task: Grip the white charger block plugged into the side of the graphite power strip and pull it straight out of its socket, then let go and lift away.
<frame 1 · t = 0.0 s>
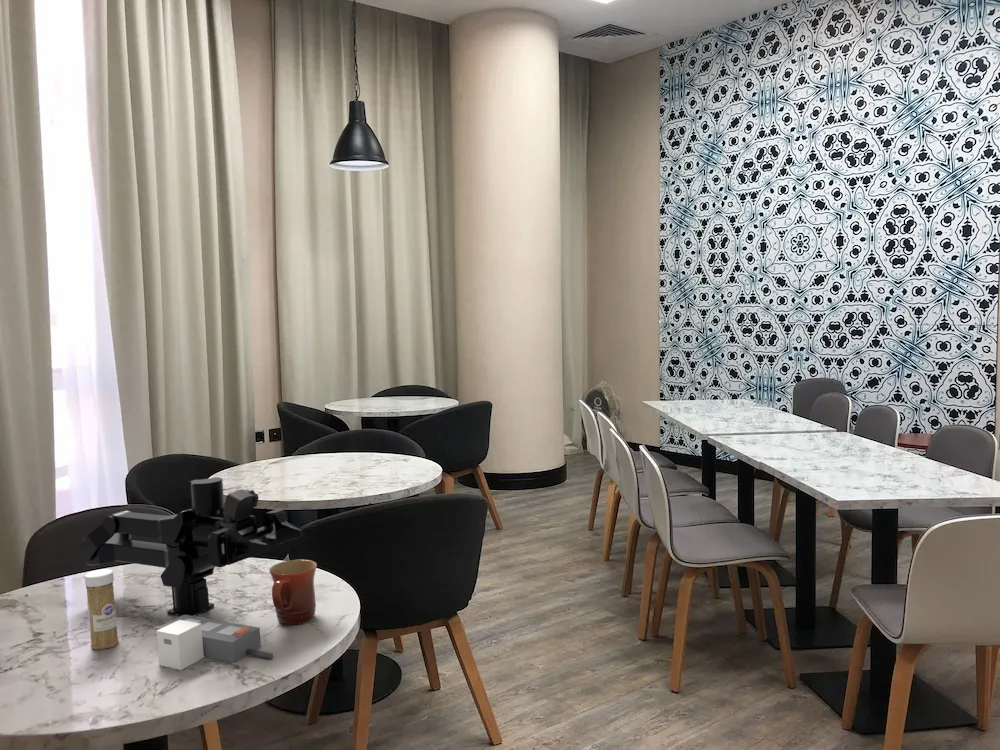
hand: (285, 540, 146), 17 cm above the table, tool horizontal, fingers open, 9 cm apart
sprinkles bottle: (105, 646, 143), on the table
charger: (185, 641, 136), point 3 cm above the table, slide at 0.0 cm
power strip: (208, 646, 140), on the table
mug: (292, 623, 150), on the table
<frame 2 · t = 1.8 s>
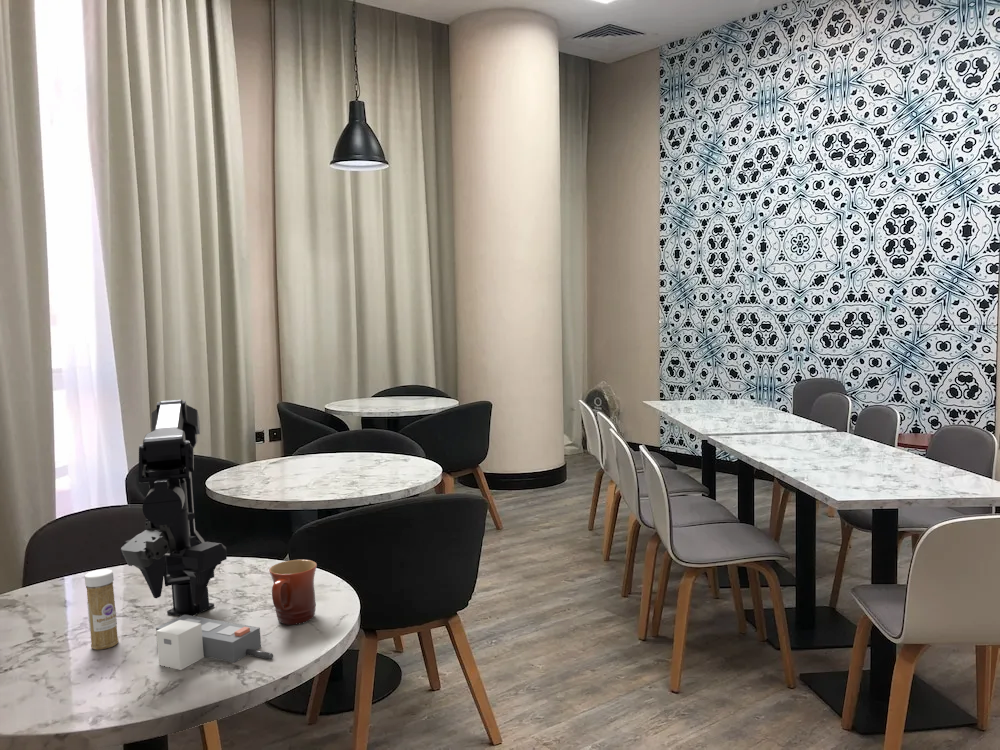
hand: (177, 600, 134), 11 cm above the table, tool pointing down, fingers open, 9 cm apart
nothing on the table moved.
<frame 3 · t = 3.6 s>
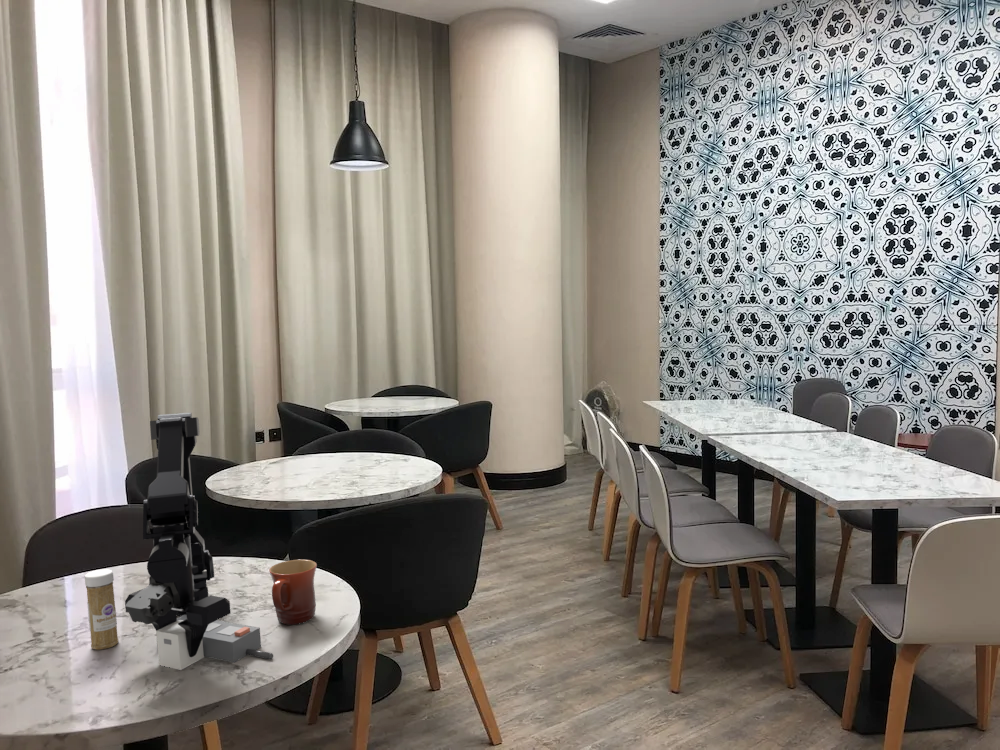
hand: (181, 653, 135), 1 cm above the table, tool pointing down, fingers closed on charger, 5 cm apart
charger: (185, 641, 136), point 3 cm above the table, slide at 0.0 cm, touching gripper
everything else where it was.
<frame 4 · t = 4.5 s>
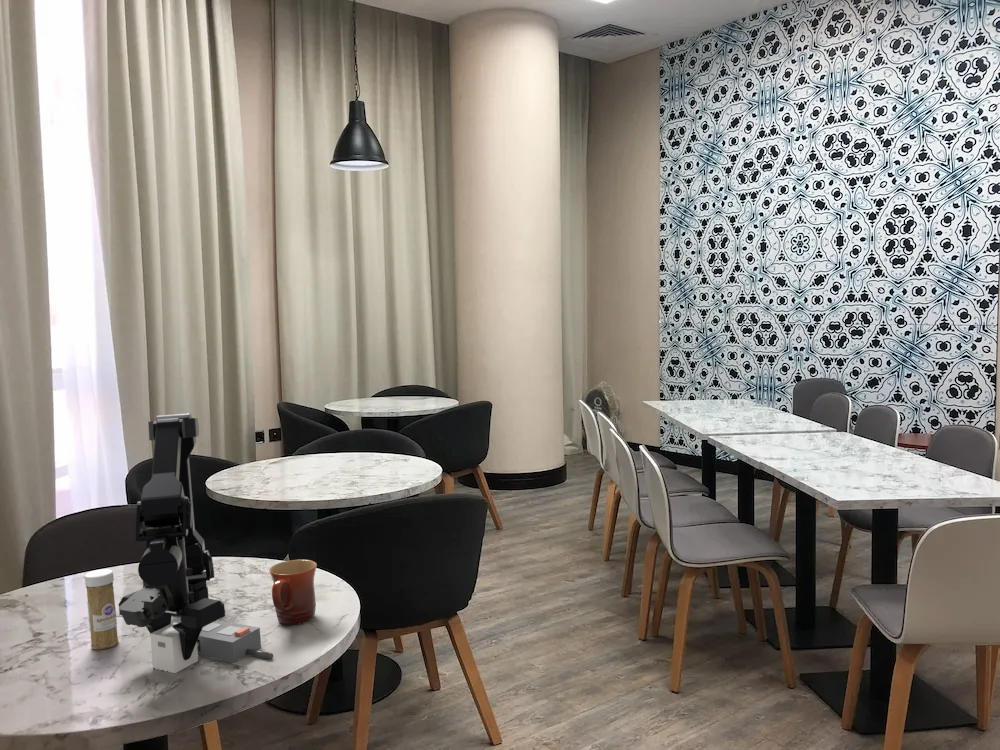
hand: (175, 656, 134), 1 cm above the table, tool pointing down, fingers closed on charger, 5 cm apart
charger: (180, 644, 135), point 3 cm above the table, slide at 1.2 cm, touching gripper
everything else where it was.
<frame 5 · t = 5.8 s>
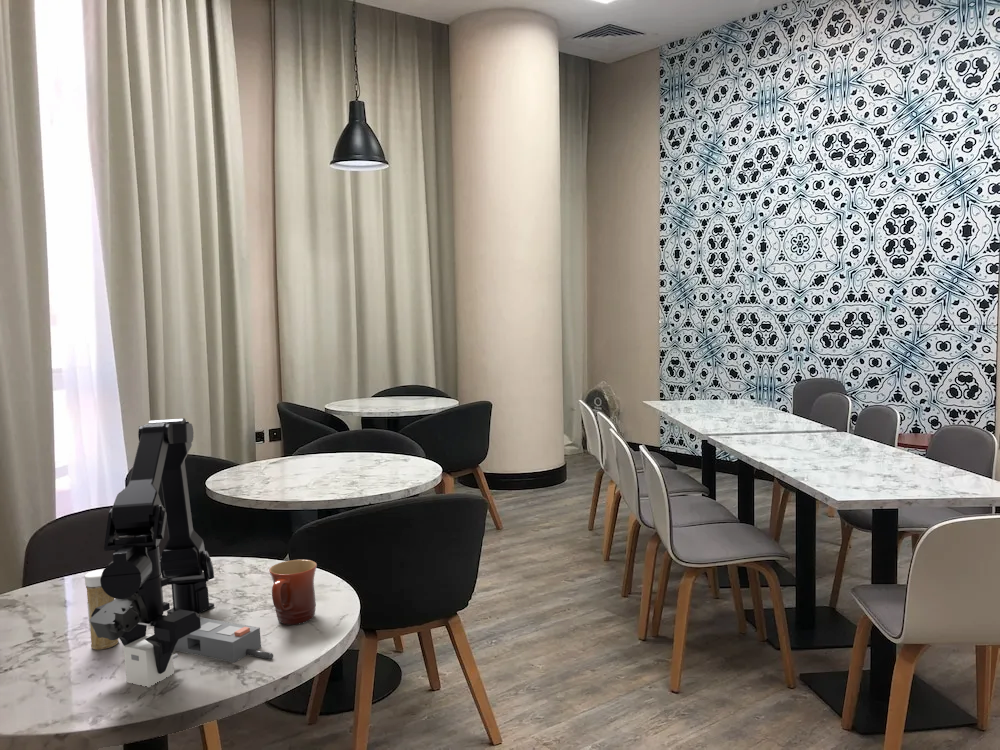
hand: (149, 670, 129), 1 cm above the table, tool pointing down, fingers closed on charger, 5 cm apart
charger: (154, 657, 130), point 3 cm above the table, slide at 6.4 cm, touching gripper
everything else where it was.
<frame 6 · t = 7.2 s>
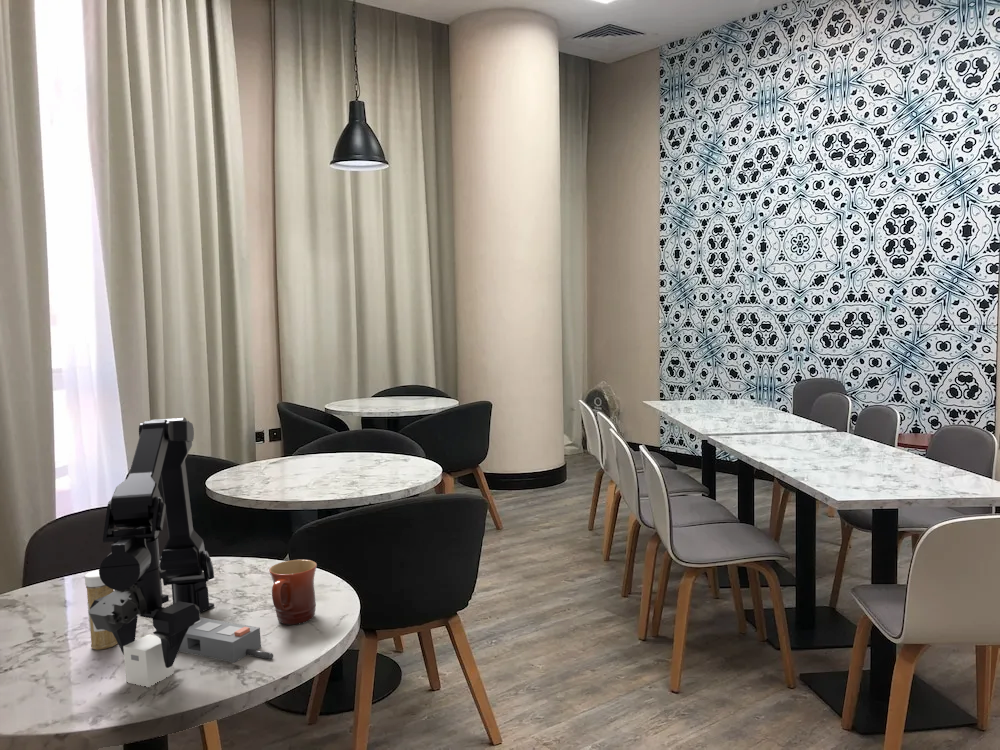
hand: (148, 662, 129), 3 cm above the table, tool pointing down, fingers open, 9 cm apart
charger: (154, 657, 130), point 3 cm above the table, slide at 6.5 cm
everything else where it was.
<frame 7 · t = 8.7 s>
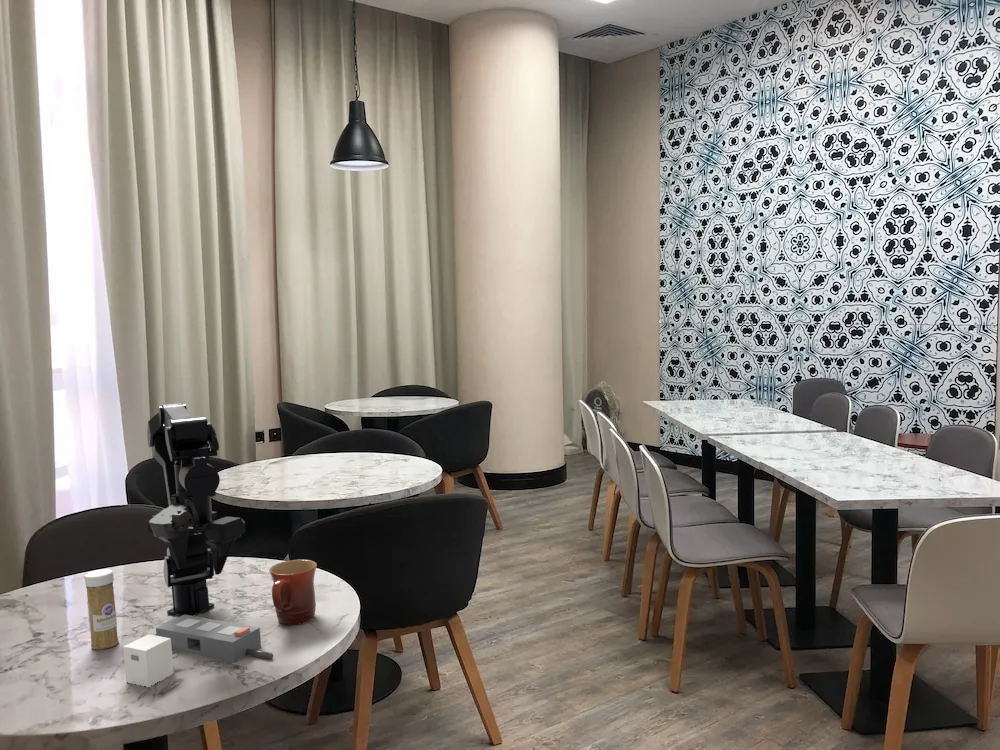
hand: (199, 571, 145), 12 cm above the table, tool pointing down, fingers open, 9 cm apart
nothing on the table moved.
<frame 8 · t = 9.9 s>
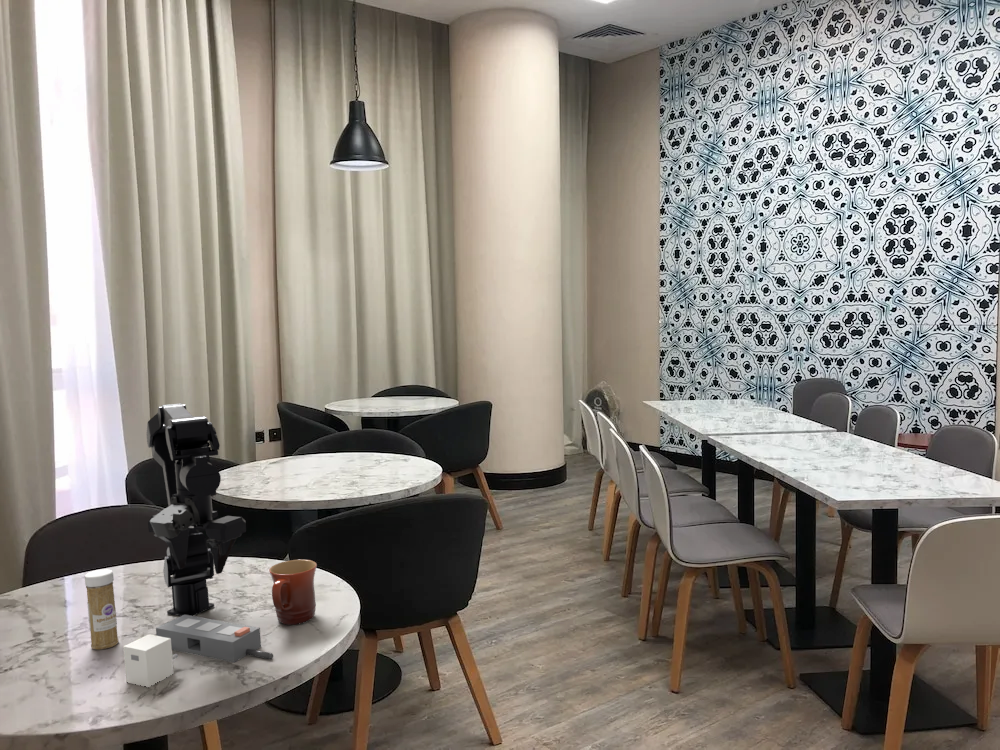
hand: (200, 570, 145), 12 cm above the table, tool pointing down, fingers open, 9 cm apart
nothing on the table moved.
at the end: charger slide at 6.5 cm; the gripper is holding nothing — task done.
